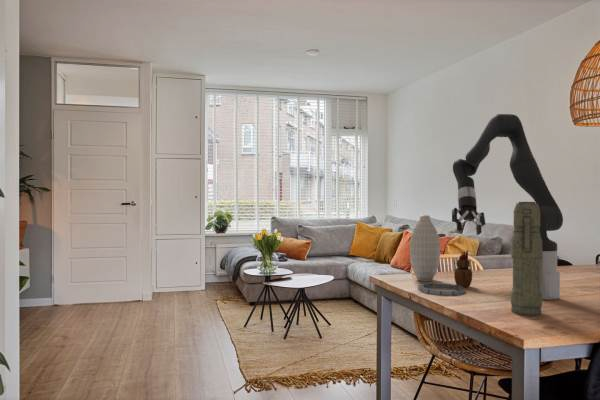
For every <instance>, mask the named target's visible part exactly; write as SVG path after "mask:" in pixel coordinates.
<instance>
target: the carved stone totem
mask: <svg viewBox="0 0 600 400" xmlns="http://www.w3.org/2000/svg"><path fill="white" fill-rule="evenodd" d="M539 227H540V209H539V206H538V203H536V202H535V201H518V202H516V203H515V206H514V209H513V234H512V238H511V247H510V248H511V250H510V253H511V254H510V256H511V258H512V287H511V291H510V304H511V305H510V306H511V309H510V311H511V313H513V314H516V315H520V316H525V317H526V316H527V317H537V316H541V315H542V307H543V299H542V294H541V291H540V261H541V259H542V239H541V236H540V231H539Z"/></svg>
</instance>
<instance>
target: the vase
mask: <svg viewBox="0 0 600 400" xmlns="http://www.w3.org/2000/svg"><path fill="white" fill-rule="evenodd" d="M419 216H420V217H419V220H418V222H417V223H416V225H415V227H414V228H413V230H412V233H411V235H410V242H409V260H410V266H411V268H412V271H413V274H414V276H415V278H416V279H417V281H419V282H432V281H433V279H434V278H435V276H436V274H437V271H438V269H439V265H440V259H441V257H440V256H441V244H440V242H441V241H440V237H439V234H438V231H437V229H436V227H435V225H434V224H433V222H432V221H431V218H430V215H427V214H426V215H425V214H424V215H423V214H421V215H419Z"/></svg>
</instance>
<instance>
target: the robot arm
mask: <svg viewBox="0 0 600 400" xmlns="http://www.w3.org/2000/svg"><path fill="white" fill-rule="evenodd" d="M496 138H508V139H509V141H510V143H511V144H510V145H511V146H512V153H511V156H510V160H509V168H510V172H511V174H512V176H513V179H514V180H515V182H516V183H517V184H518V186H519V187H521V189H522V190H523V191H525V192H526V193H527V195H529V196H530V197H531V198H532V199H533V202H535V203H538V206H539V209H540V227H539V231H540V236H541V239H542V259H541V261H540V291H541V294H542V300H547V301H552V300H553V301H554V300H558V299H560V291H561V288H560V283H561V282H560V281H561V280H560V279H561V276H560V275H561V274H560V271H558V244H557V242H556V241H553V240H552V239H550V238H548V232H554V231H558V230H560V229H561V227H562V226H563V224H564V217H563V213H562V211H561V209H560V207H559V205H558V204H557V202H556V200H555V199H554V197H553V195H552V193H551V192H550V190H549V188H548V186H547V184H546V181H545V179H544V177H543V175H542V173H541V170H540V168H539V165H538V162H537V160H536V159H535V157H534V155H533V152H532V151H531V147H530V144H529V143H528V139H527V137H526V133H525V131H524V126H523V124H522V122H521V119H520V117H518V115H516V114H511V113H506V114H505V113H498V114H494V115H493V116H492V117H491V118H490V119H489V121H488V123H486V126H485V128H484V129H483V131H482V133H481V134H480V136H479V137H478V140H477V141H476V142H475V144H474V145H473V146H472V147H470V148H471V149H470V150H468V152H466V154H465V159H462V158H458V159H456V160H455V161H454V162H453V165H452V172H453V175H454V177H455V179H456V182H457V190H458V191H457V202H458V208H457V207H454V208H452V210H451V222H453V223H456V224H455V225H456V231H457V232H459V233H460V232H463V231H462V230H463V228H462V227H463V226H462V221H463V220H464V221H468V222H472V224H473V225H475V227H476V228H475V230H476V231H475V232H476V236H479V235H481V234H482V231H483V230H482V228H483V227H484V226H485V225H486V218H485V213H484V212H478V209H477V207H478V206H477V195H476V191H475V190H476V189H475V180H474V178H473V177H472V176H475V174H476V173H477V172H478V168H479V166H480V164H481V163H482V162H483V161H484V159H485V158H486V157H487V156H488V155H489V153H490V149H491V142H492V141H494V140H495V139H496ZM458 214H459V215H460V216H459V217H458Z"/></svg>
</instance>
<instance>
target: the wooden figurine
mask: <svg viewBox="0 0 600 400" xmlns="http://www.w3.org/2000/svg"><path fill="white" fill-rule="evenodd" d="M458 258H459V259H457V261H456V266H457V268H455V269H454V272H453V273H454V275H453V276H454V282H455V285H460V286H462V287H464V288H468V287H470V286H471V284H472V281H473V272H472V270H471V269H470V264H471V262H470V260H469V250H468V249H466V251H465V250H463V252H462V253H461V255H459V257H458Z"/></svg>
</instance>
